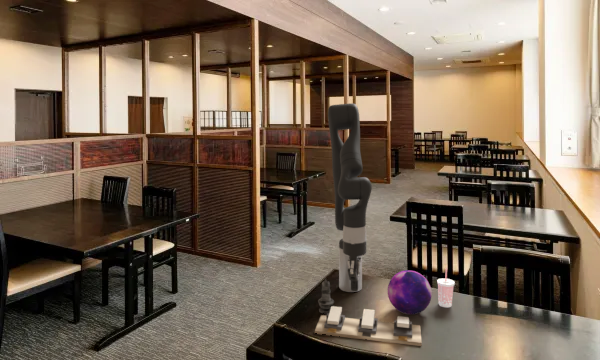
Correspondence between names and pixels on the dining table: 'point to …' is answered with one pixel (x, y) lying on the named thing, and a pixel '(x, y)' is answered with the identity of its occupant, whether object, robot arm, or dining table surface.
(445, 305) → the beverage cup
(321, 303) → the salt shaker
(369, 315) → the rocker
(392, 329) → the switch board
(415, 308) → the decorative orb
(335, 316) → the block
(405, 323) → the block
